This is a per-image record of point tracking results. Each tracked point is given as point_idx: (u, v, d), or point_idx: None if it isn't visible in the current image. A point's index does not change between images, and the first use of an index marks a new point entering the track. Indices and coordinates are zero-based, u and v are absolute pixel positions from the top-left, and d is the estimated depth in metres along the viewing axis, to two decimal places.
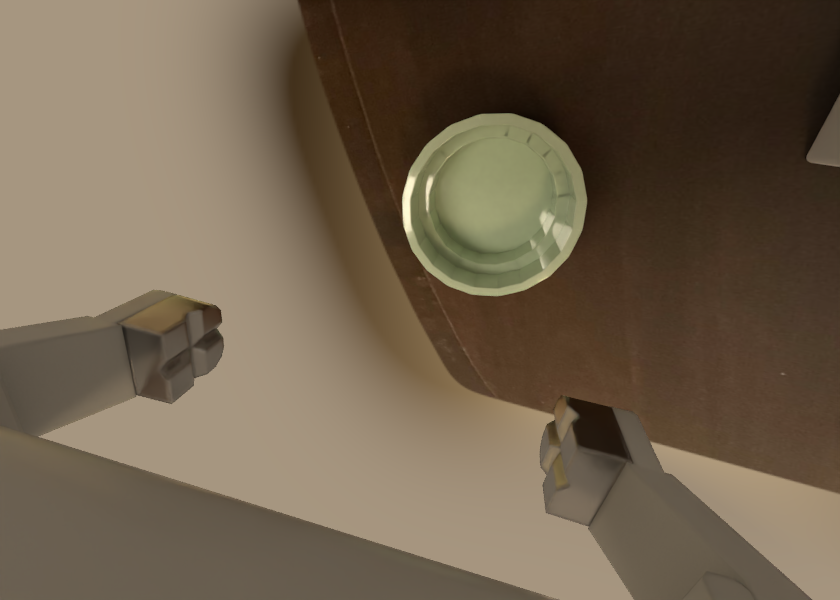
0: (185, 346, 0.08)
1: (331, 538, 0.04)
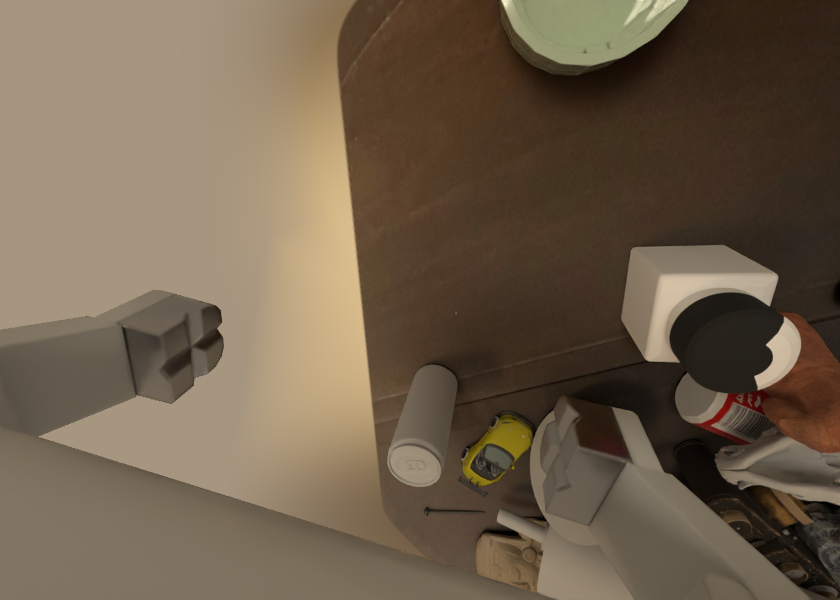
0: (185, 346, 0.08)
1: (331, 538, 0.04)
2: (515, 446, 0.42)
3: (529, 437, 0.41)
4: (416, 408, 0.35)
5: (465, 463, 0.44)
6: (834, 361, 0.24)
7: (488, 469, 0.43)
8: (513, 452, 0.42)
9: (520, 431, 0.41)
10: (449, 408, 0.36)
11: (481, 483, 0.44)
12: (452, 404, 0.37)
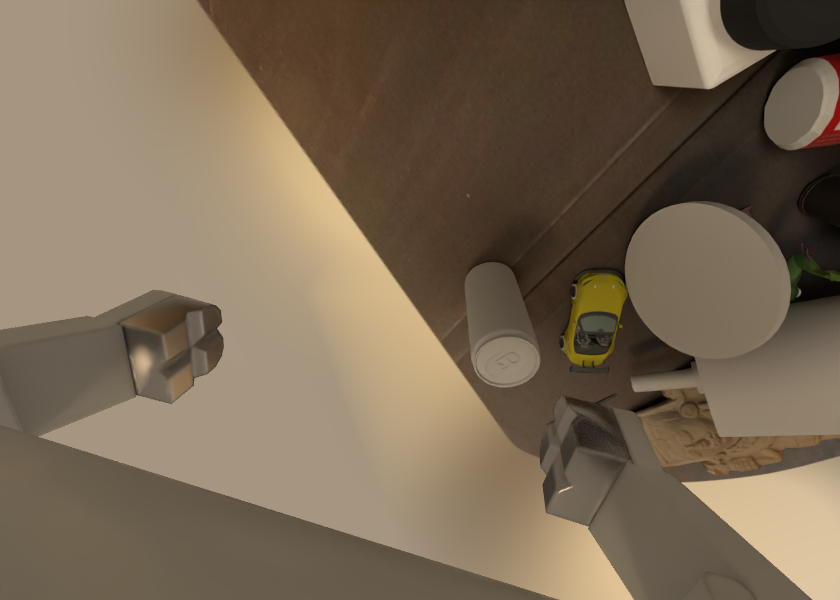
0: (185, 346, 0.08)
1: (331, 538, 0.04)
2: (611, 301, 0.35)
3: (620, 284, 0.35)
4: (478, 308, 0.29)
5: (568, 350, 0.38)
6: None
7: (595, 343, 0.37)
8: (612, 309, 0.35)
9: (607, 283, 0.35)
10: (514, 293, 0.31)
11: (596, 362, 0.38)
12: (516, 289, 0.32)
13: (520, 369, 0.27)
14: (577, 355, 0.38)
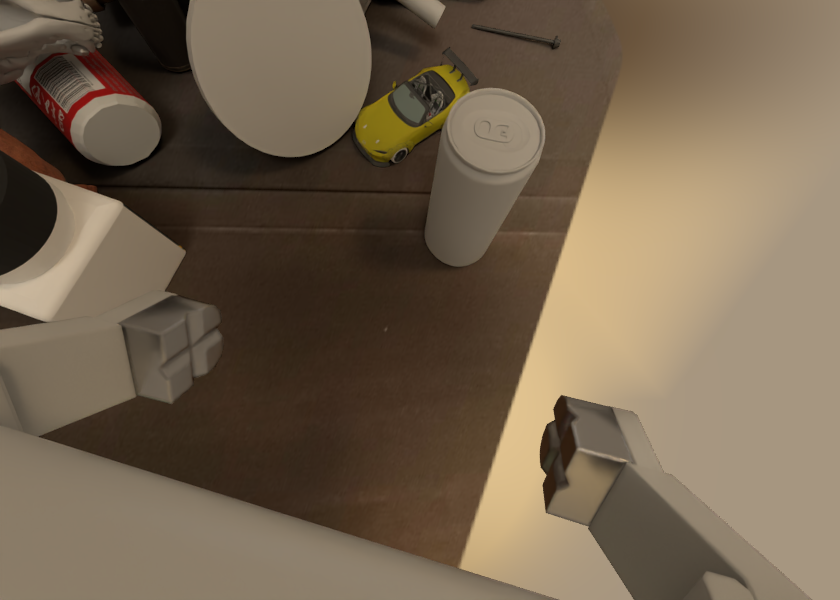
0: (185, 346, 0.08)
1: (331, 538, 0.04)
2: (379, 114, 0.29)
3: (358, 123, 0.29)
4: (473, 221, 0.21)
5: None
6: None
7: (430, 88, 0.30)
8: (386, 106, 0.29)
9: (366, 134, 0.29)
10: (430, 202, 0.23)
11: (448, 69, 0.30)
12: (429, 204, 0.24)
13: (491, 108, 0.18)
14: (456, 91, 0.29)
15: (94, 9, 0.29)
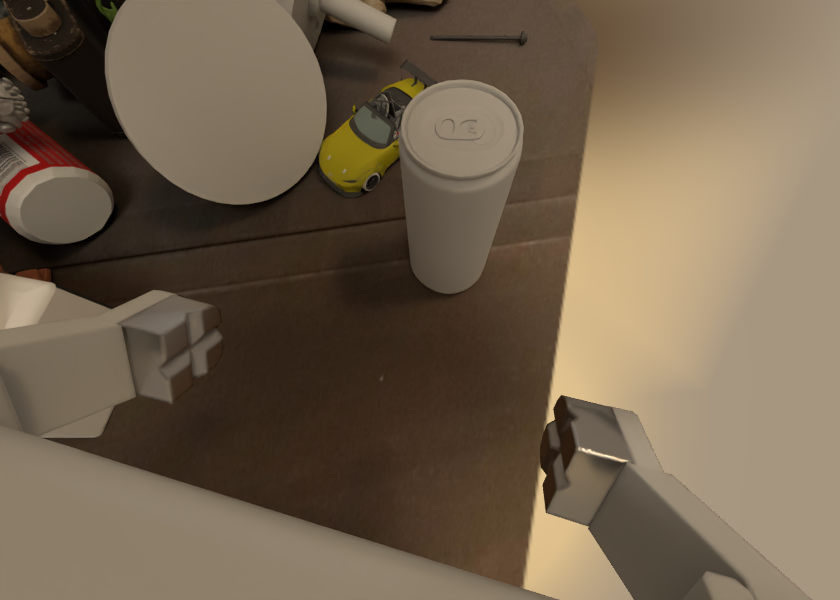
0: (185, 346, 0.08)
1: (331, 538, 0.04)
2: (343, 142, 0.27)
3: (321, 155, 0.27)
4: (456, 239, 0.17)
5: None
6: None
7: (393, 105, 0.27)
8: (348, 132, 0.27)
9: (331, 166, 0.26)
10: (407, 226, 0.20)
11: (409, 82, 0.27)
12: None
13: (452, 103, 0.15)
14: None
15: (34, 87, 0.28)
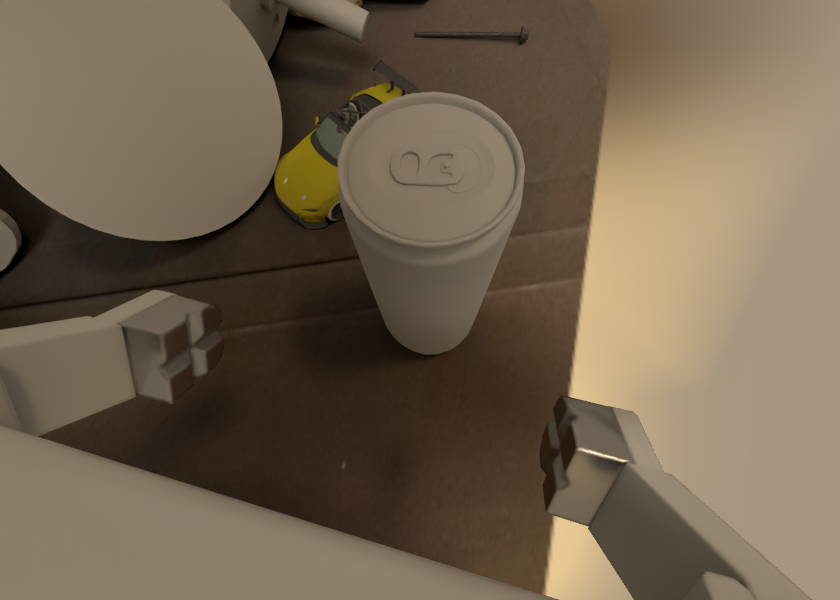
0: (185, 346, 0.08)
1: (331, 538, 0.04)
2: (302, 162, 0.22)
3: (277, 177, 0.22)
4: (431, 312, 0.13)
5: None
6: None
7: None
8: (309, 150, 0.22)
9: (288, 191, 0.22)
10: None
11: (385, 88, 0.23)
12: None
13: (418, 127, 0.10)
14: None
15: None
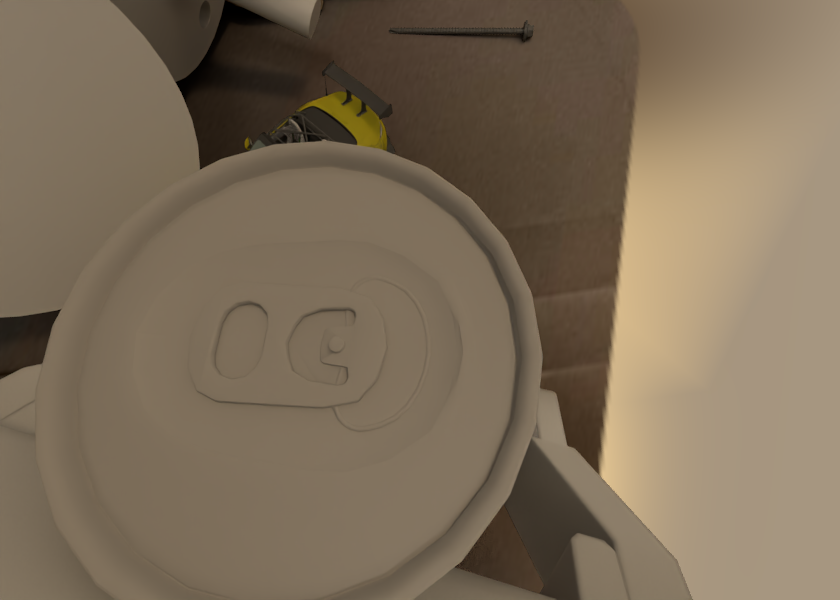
0: None
1: None
2: None
3: None
4: None
5: None
6: None
7: (311, 137, 0.16)
8: None
9: None
10: None
11: (340, 98, 0.17)
12: None
13: (279, 232, 0.04)
14: (359, 133, 0.16)
15: None
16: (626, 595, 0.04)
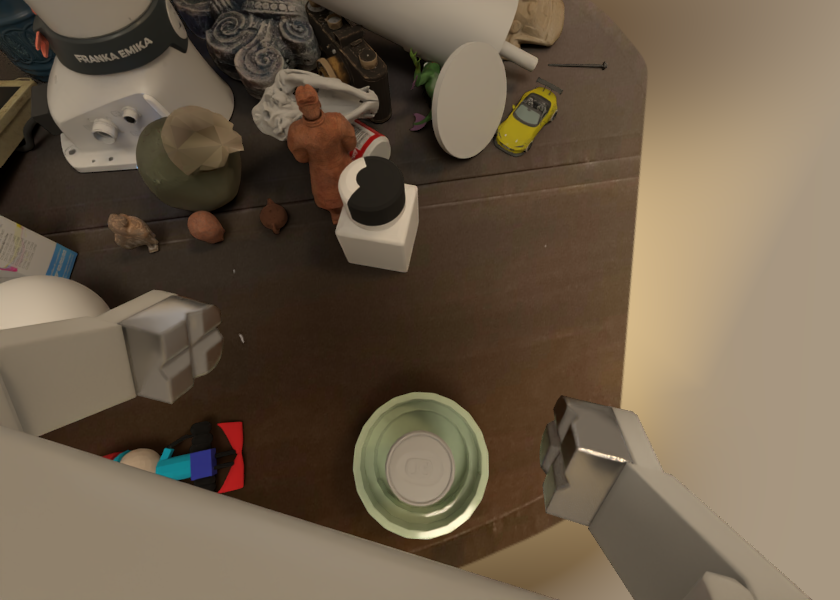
0: (185, 346, 0.08)
1: (331, 538, 0.04)
2: (511, 125, 0.48)
3: (500, 134, 0.49)
4: None
5: (554, 107, 0.49)
6: (314, 171, 0.37)
7: (534, 103, 0.49)
8: (513, 120, 0.48)
9: (507, 139, 0.48)
10: None
11: (540, 89, 0.49)
12: None
13: (415, 449, 0.26)
14: (551, 100, 0.49)
15: None
16: None
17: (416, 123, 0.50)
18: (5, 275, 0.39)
